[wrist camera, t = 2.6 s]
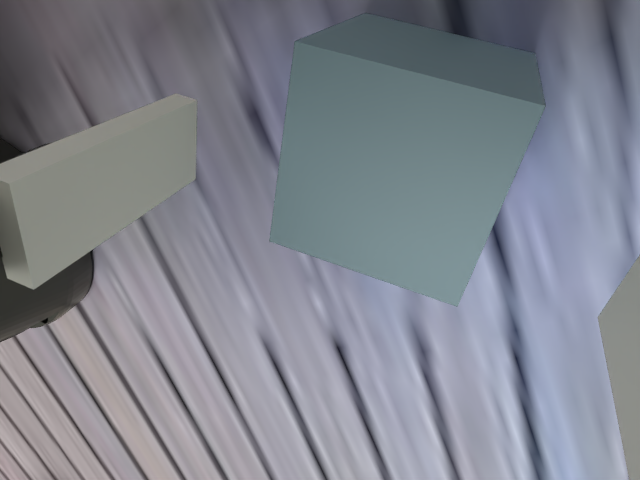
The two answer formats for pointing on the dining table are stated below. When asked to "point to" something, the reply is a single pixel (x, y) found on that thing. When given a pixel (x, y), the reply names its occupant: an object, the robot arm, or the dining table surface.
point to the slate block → (401, 149)
